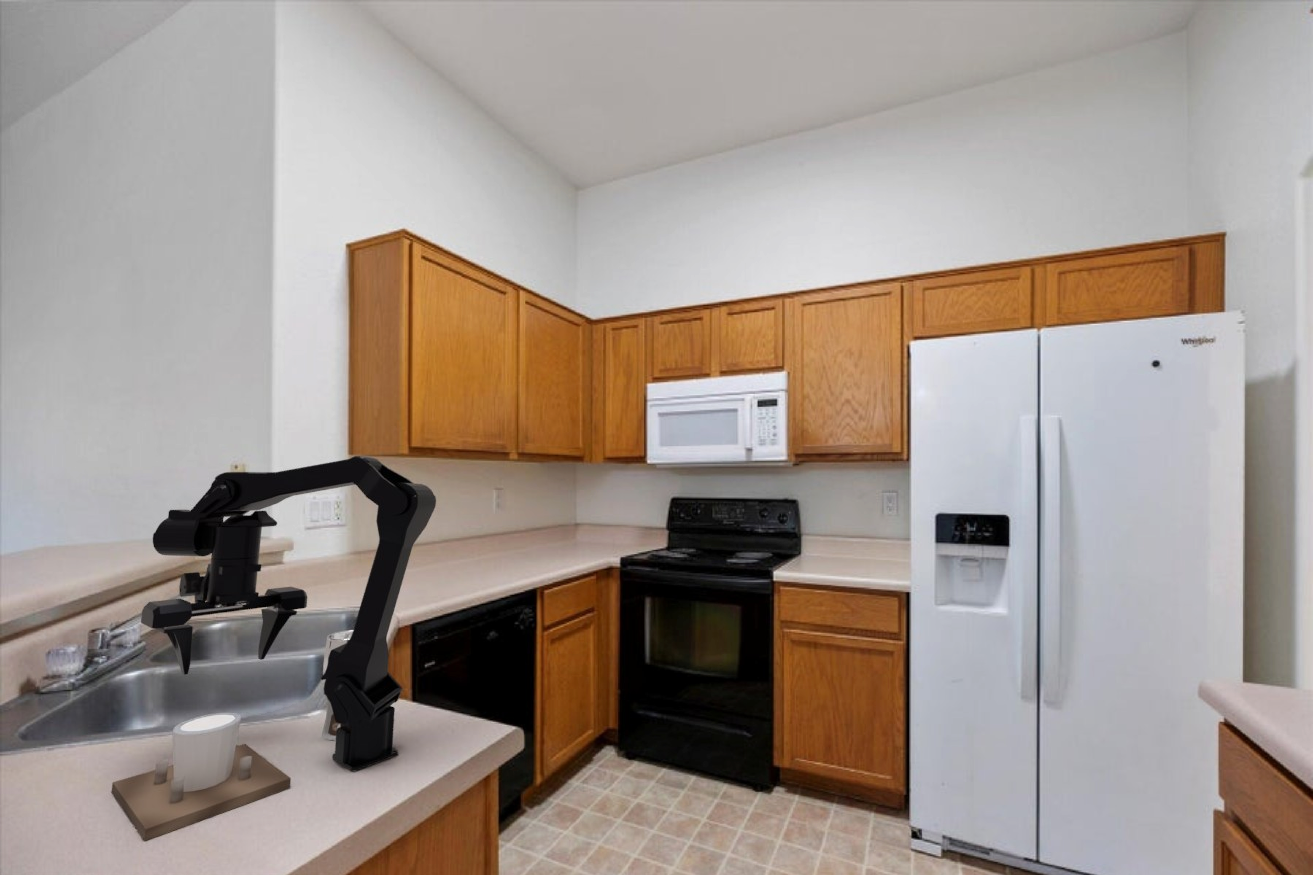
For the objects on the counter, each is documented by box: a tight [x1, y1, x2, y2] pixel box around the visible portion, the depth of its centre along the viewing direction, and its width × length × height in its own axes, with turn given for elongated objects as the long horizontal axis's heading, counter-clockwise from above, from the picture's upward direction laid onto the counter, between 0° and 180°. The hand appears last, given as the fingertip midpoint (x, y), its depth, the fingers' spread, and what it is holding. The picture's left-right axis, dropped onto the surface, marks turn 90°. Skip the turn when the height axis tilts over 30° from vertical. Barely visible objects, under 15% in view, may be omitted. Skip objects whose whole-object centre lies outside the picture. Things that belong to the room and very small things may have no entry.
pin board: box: [111, 743, 292, 842], centre depth 71 cm, size 14×16×4 cm
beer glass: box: [321, 629, 353, 741], centre depth 89 cm, size 7×7×15 cm
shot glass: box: [172, 712, 242, 792], centre depth 71 cm, size 7×7×7 cm
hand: (224, 666), depth 81 cm, fingers open, 9 cm apart
